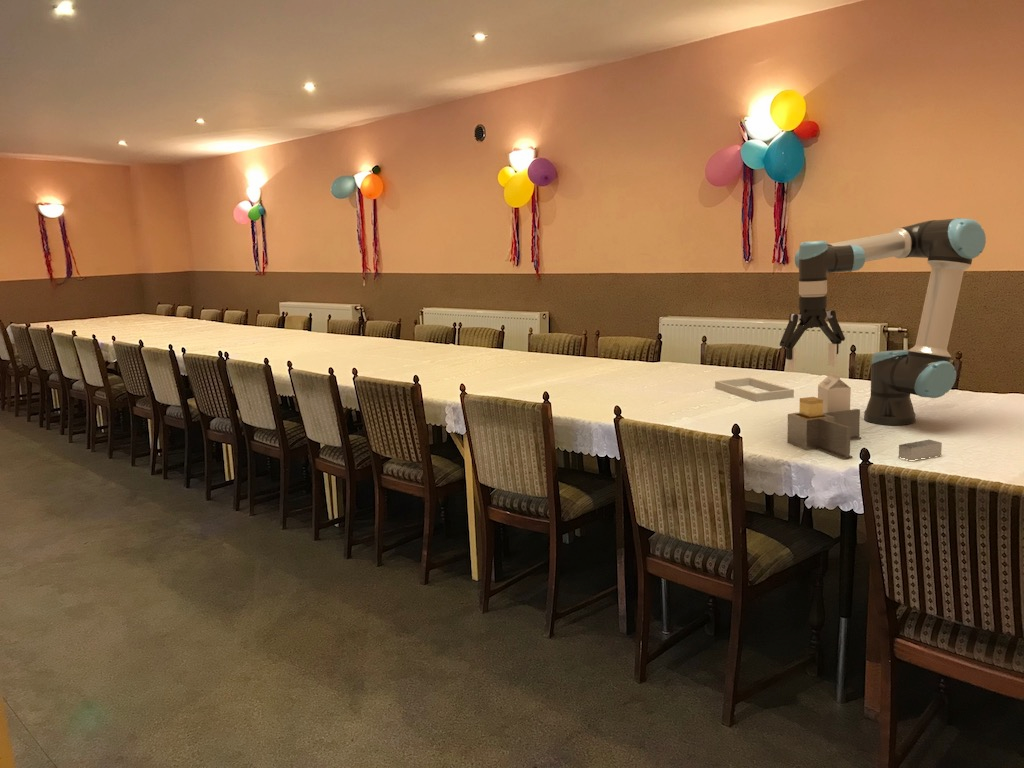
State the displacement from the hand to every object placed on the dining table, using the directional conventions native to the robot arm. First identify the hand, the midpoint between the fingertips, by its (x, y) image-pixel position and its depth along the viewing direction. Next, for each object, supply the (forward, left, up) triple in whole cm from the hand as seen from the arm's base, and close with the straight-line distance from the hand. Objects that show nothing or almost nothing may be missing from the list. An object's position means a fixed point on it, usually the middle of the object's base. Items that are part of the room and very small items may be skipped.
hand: (812, 368), depth 220 cm
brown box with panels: (-6, +6, -23) cm, 25 cm away
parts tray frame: (-27, -74, -23) cm, 82 cm away
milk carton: (-14, -8, -23) cm, 28 cm away
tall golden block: (0, 0, -23) cm, 23 cm away
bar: (-18, +23, -24) cm, 37 cm away
